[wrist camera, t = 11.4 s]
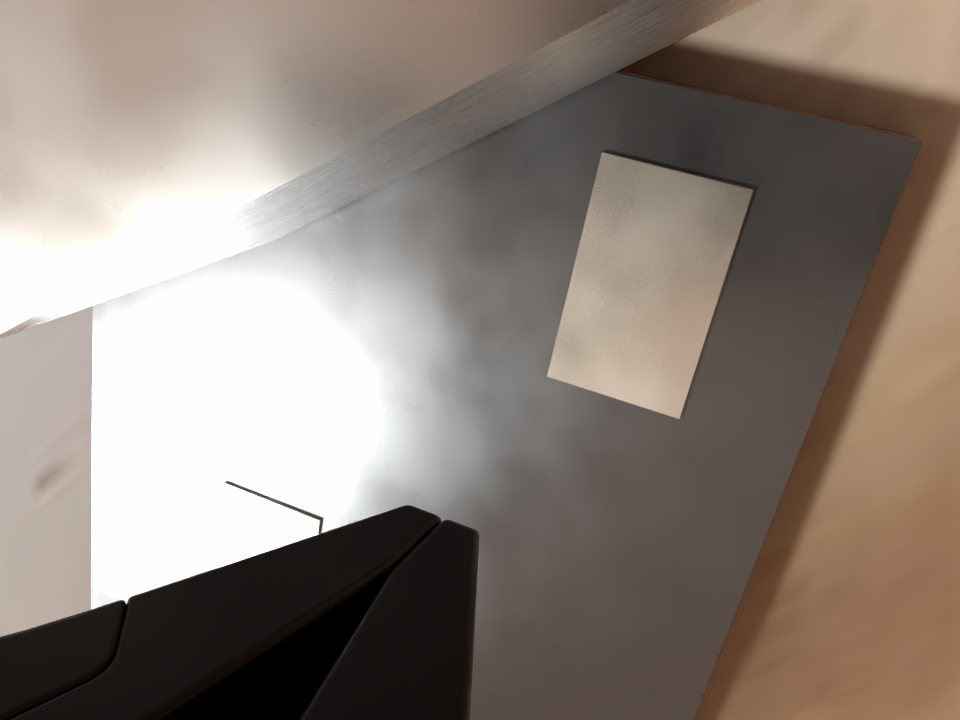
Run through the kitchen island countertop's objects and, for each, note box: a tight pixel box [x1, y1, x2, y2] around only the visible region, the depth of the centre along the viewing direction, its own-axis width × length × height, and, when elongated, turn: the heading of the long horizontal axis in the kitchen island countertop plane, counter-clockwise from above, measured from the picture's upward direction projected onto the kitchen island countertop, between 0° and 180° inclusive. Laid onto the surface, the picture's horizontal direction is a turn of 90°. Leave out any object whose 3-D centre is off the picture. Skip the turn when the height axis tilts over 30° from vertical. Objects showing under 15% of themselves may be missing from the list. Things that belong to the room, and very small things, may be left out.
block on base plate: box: [91, 70, 921, 720], centre depth 18 cm, size 20×19×10 cm
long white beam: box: [0, 0, 760, 339], centre depth 13 cm, size 5×16×8 cm, turn 116°
